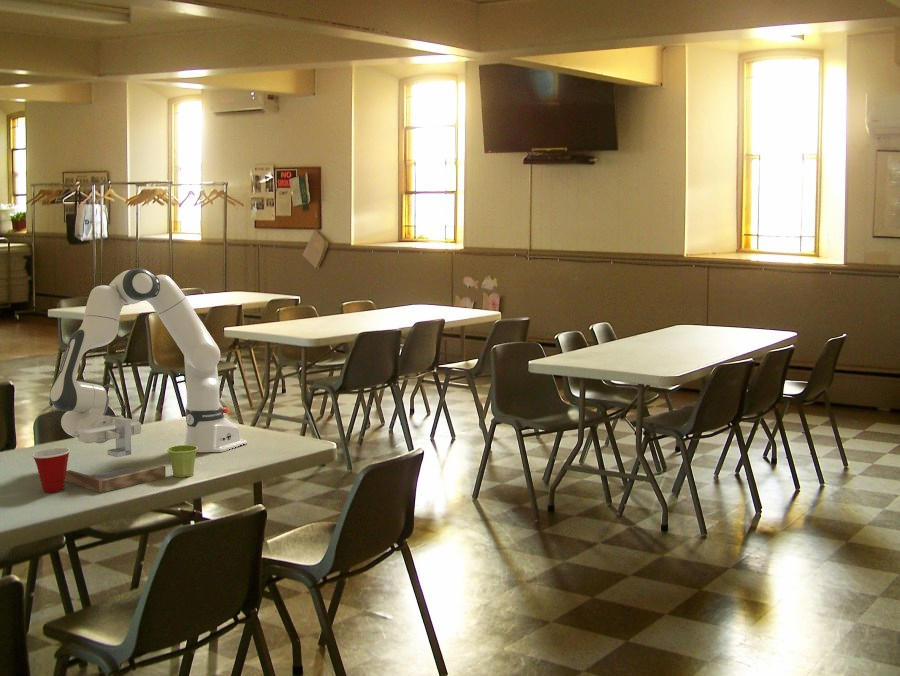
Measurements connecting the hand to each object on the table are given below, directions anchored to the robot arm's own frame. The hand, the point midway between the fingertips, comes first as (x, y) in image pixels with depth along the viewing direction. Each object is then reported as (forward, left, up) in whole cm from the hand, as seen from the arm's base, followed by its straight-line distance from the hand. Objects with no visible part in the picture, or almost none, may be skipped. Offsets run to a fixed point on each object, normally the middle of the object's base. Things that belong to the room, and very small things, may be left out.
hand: (124, 435), depth 332 cm
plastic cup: (+22, -6, -14) cm, 26 cm away
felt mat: (+2, -2, -14) cm, 14 cm away
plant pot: (-14, +10, -14) cm, 22 cm away
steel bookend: (+1, -1, -6) cm, 6 cm away
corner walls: (+2, -2, -14) cm, 14 cm away
